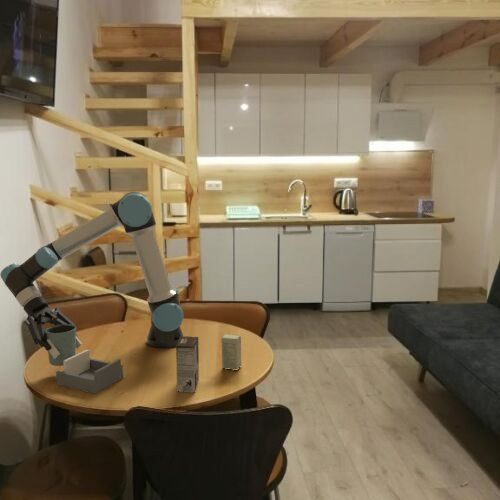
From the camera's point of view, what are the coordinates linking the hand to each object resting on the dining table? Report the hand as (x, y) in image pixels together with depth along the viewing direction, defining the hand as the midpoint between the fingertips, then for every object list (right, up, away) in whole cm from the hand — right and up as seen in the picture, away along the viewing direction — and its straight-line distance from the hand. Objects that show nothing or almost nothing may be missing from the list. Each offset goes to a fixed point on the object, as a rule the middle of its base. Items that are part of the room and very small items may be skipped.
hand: (68, 351), depth 168 cm
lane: (+8, -10, -2) cm, 13 cm away
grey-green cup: (-3, -4, +2) cm, 5 cm away
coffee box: (+42, -11, -6) cm, 44 cm away
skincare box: (+56, -8, +10) cm, 58 cm away
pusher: (+3, -8, 0) cm, 9 cm away
